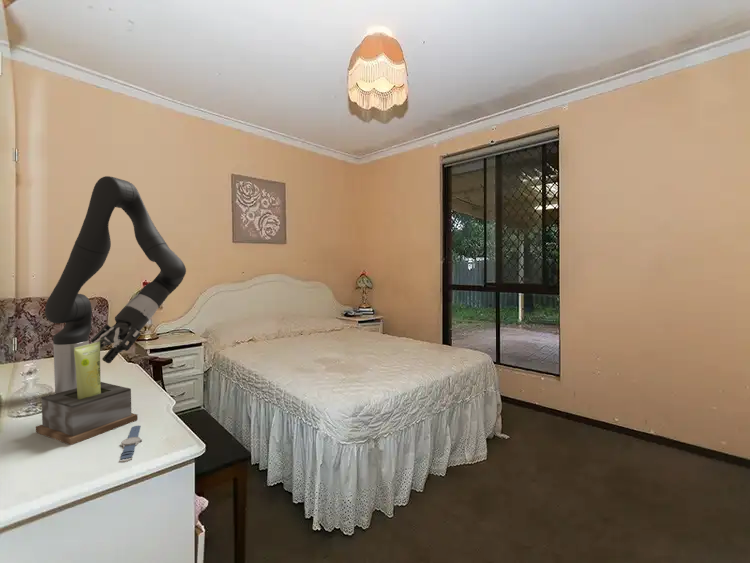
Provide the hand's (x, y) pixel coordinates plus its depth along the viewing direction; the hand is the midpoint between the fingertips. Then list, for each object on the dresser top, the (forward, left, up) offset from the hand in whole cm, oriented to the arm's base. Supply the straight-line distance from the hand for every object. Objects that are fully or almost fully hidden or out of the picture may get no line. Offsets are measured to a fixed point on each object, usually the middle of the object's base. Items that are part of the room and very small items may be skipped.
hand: (96, 359), depth 101 cm
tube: (0, -2, -15) cm, 15 cm away
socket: (0, -2, -17) cm, 17 cm away
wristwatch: (+20, -3, -18) cm, 27 cm away
